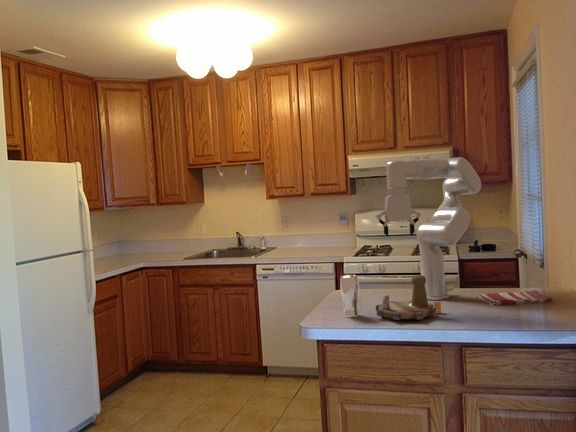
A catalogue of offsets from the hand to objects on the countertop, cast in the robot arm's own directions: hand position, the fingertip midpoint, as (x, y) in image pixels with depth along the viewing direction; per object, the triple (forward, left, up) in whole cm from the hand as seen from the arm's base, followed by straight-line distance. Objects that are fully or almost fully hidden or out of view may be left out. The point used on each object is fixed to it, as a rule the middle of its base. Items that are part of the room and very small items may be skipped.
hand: (399, 235), depth 197 cm
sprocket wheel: (+8, +13, -27) cm, 31 cm away
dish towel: (-42, +16, -29) cm, 54 cm away
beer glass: (+24, +1, -28) cm, 37 cm away
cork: (+2, +15, -25) cm, 29 cm away
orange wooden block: (+4, +13, -28) cm, 31 cm away
